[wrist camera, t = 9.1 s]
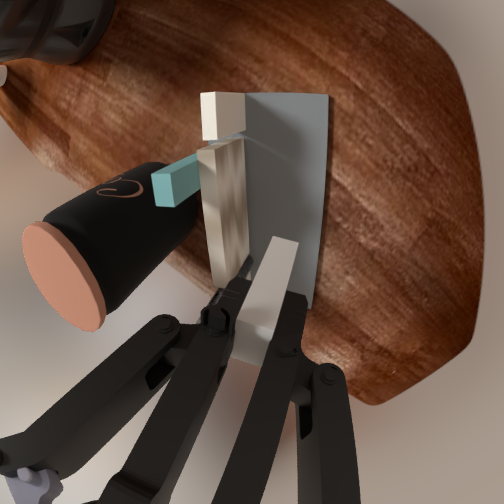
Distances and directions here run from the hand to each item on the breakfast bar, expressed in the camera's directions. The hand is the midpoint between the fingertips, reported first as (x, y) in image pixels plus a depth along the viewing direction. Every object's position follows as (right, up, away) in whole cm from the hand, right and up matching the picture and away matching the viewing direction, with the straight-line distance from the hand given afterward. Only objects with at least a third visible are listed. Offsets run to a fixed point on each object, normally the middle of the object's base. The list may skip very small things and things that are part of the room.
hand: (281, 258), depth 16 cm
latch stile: (-4, +11, +12) cm, 16 cm away
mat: (0, +5, +14) cm, 14 cm away
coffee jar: (-13, +7, +17) cm, 22 cm away
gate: (-3, +6, +13) cm, 14 cm away
